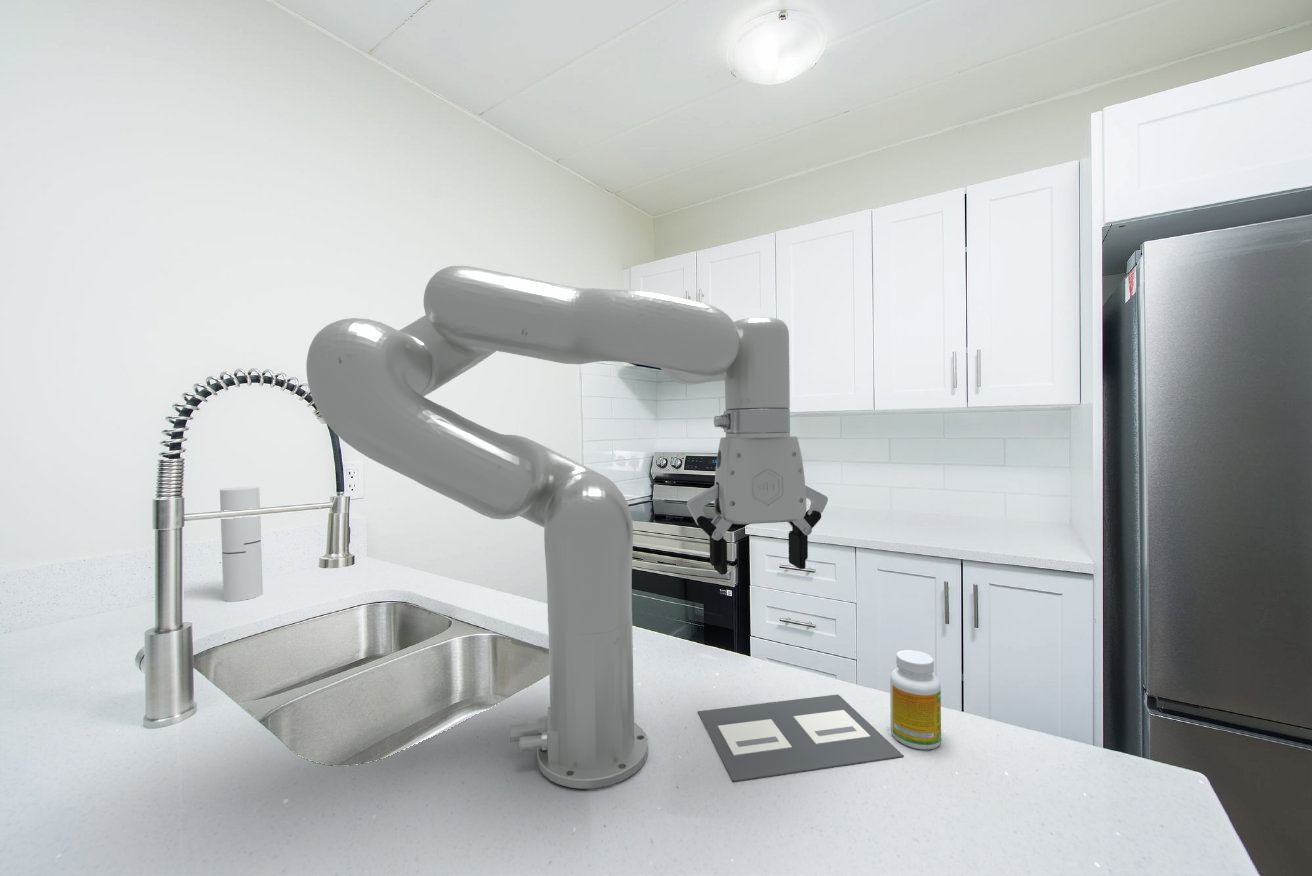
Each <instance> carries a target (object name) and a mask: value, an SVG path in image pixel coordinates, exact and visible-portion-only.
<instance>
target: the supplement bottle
mask: <svg viewBox="0 0 1312 876" xmlns="http://www.w3.org/2000/svg"><path fill="white" fill-rule="evenodd" d="M895 656H896V658H895V660H896V661H895V664H896V668H895V669H894V670H892V672H891V673H890V678H889V679H890V681H889V682H890V685H889V686H890V687H889V688H890V689H889V690H890V694H889V695H890V696H889V697H890V700H889V702H890V706H889V707H890V733H891V735H892V736H893V738H894V739H895V740H897V741H898V742H899V743H901V744H903V745H905V746H906V747H910V748H913V749H915V750H925V751H926V750H933V749H936V748H938V747H940V744H941V743H942V713H941V712H942V709H941V708H942V705H941V704H942V703H941V702H942V701H941V700H942V697H941V694H942V690H941V688H942V687H941V681H940V680H939V678H938V677H937V675H935V674H934V671H935V665H934V663H935V662H934V658H933V657H932V656H931V655H930V654H928V653H926V652H922V651H920V650H913V649H903V650H899V651H897V652H896V655H895Z"/></svg>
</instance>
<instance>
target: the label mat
mask: <svg viewBox="0 0 1312 876" xmlns="http://www.w3.org/2000/svg"><path fill="white" fill-rule="evenodd" d="M842 697H843V696H841V695H840V694H838V693H837V694H831V695H821V696H814V697H813V696H812V697H804V698H797V699H788V700H781V701H780V700H779V701H772V702H762V703H754V704H748V705H747V704H746V705H738V706H731V707H730V706H729V707H722V708H721V707H720V708H713V709H704V710H697V714H698V716H699V718H700V719H701V721H702V724H703V725H704V728H705V730H706V731H707V734H708V736H709V738H710V739H711V742H712V744H713V746H714V748H715V750H716V752H717V753H718V755H719V758H720V760H721V762H722V764H723V765H724V768H725V770H726V771H727V773H728V776H729V777H730V779H731V781H732V782H733V783H735V782H743V781H749V780H755V779H762V778H770V777H777V776H784V775H790V774H797V773H805V772H811V771H817V770H824V769H831V768H839V767H845V766H851V765H852V766H853V765H860V764H865V763H866V764H867V763H871V762H878V761H885V760H892V759H900V758H904V756H905V755H904V754H903V753H901V752H900V750H898V748H896V747H895V746H894V744H892V743H891V742H890V741H889V740H888V739H887V738H885V737H884V736H883V735H882V734H881V733H880V732H879V731H878V730H877V728H875V727H874V726H873V725H872V724H871V723H870V722H869V721H867V720H866V719H865V718H864V717H863V716H862V715H861V714H860V713H859V712H858V711H857V710H856V709H855V708H853V706H851V705H850V704H849V703H848V702H847V701H846V700H845V699H844V698H842Z"/></svg>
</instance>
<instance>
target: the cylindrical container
mask: <svg viewBox="0 0 1312 876" xmlns="http://www.w3.org/2000/svg"><path fill="white" fill-rule="evenodd" d="M260 494H261V493H260V486H239V487H238V486H237V487H227V488H221V489H219V500H220V501H219V503H220V507H219V508H220V512H221V511H224V510H241V509H249V508H260V509H261V501H260V500H261V498H260V497H261V496H260ZM220 530H221V534H220V535H221V561H222V562H221V566H222V567H221V568H222V586H223V587H222V588H223V589H222V591H223V593H222V596H223V597H222V598H223V601H224V600H225V601H224V602H228V601H233V602H240V601H241V600H242V601H247V600H246V599H248V600H251V599H255V598H254V597H256V598H258V597H260V595H261V596H262V595H263V594H264V590H263V589H264V588H263V565H262V563H263V561H262V560H263V557H262V530H261V515H260V516H257V517H242V518H233V519H221V518H220ZM242 601H241V602H242Z"/></svg>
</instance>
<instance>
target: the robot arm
mask: <svg viewBox="0 0 1312 876" xmlns="http://www.w3.org/2000/svg"><path fill="white" fill-rule="evenodd" d="M423 309H424V314H425V315H423V316H421V317H419V318H418V319H417V320H415V321H413V322H411V323H409V324H407V325H406V326H404V327H403V328H401V329H400V330H398V329H396V328H394V327H392V326H390V325H387V324H386V323H383V322H382V321H381V322H380V321H376V320H373V319H369V318H358V317H357V318H355V317H354V318H353V317H352V318H344V319H343V318H342V319H340V320H337V321H334V322H331V323H329V324H327V325H325V326H324V327H323V328H322V329H320V330H319V331H318V332H317V333H316V334H315V336H314V337H313V339H312V341H311V343H310V345H309V347H308V353H307V355H306V364H305V365H306V380H307V384H308V389H309V393H310V396H311V399H312V400H313V403H314V405H315V408H316V409H317V411H318V413H319V415H320V417H322V419H323V421H324V422H325V423H326V424H327V426H328V427H329V428H330V429H331V431H332V432H333V433H334V434H335V435H336V436H338V437H339V438H340V439H341V440H342V441H343V442H344V443H346V444H347V445H349V446H350V447H351V448H352V449H354V450H356V451H357V452H359V453H360V454H362V455H363V456H365V457H366V458H369V459H370V460H372V461H374V462H376V463H378V464H380V465H382V466H384V467H386V468H388V469H390V470H392V471H394V472H396V473H399V474H401V475H403V476H404V477H407V478H408V479H411V480H413V481H415V482H417V483H418V484H420V485H422V486H424V487H426V488H427V489H430V490H432V491H434V492H436V493H438V494H440V495H443V496H444V497H447V498H448V499H451V500H453V501H455V502H457V503H459V504H461V505H463V506H464V507H467V508H469V509H470V510H472V511H474V512H476V513H478V514H480V515H482V516H485V517H487V518H490V519H495V520H503V521H504V520H510V519H514V518H516V517H521V518H523V519H525V520H527V521H529V522H531V523H533V524H536V525H538V526H540V527H543V528H544V532H543V534H544V535H543V536H544V537H543V538H544V539H543V541H544V557H545V572H546V594H547V595H546V596H547V597H546V598H547V626H548V628H547V629H548V667H549V668H548V670H549V671H548V672H549V673H548V674H549V679H548V680H549V706H547V715H546V716H540V717H538V720H533V721H527V720H526V721H525V720H524V721H517V722H511V723H510V726H509V727H510V728H509V742H510V743H516V742H519V752H525V751H527V752H528V751H532V750H537V751H536V757H537V758H536V759H537V760H536V762H537V766H538V768H539V771H540V772H541V773H542V774H543V776H544V777H546V778H547V779H548V780H549V781H551V782H553V783H555V784H557V785H559V786H563V787H568V788H571V789H580V790H581V789H582V790H583V789H585V790H586V789H587V790H589V789H599V788H604V787H608V786H612V785H615V784H617V783H620V782H622V781H624V780H626V779H627V778H629V777H631V776H633V775H634V774H635V773H636V772H638V771H639V770H640V769H641V767H642V766H643V765H644V764H645V762H646V759H647V758H648V754H649V740H648V737H647V734H646V732H645V731H644V729H643V728H642V727H641V726H640V725H638V724H637V723H636V722H635V700H634V692H635V691H634V651H633V650H634V649H633V648H634V642H633V638H634V637H633V605H632V604H633V596H632V595H633V594H632V593H633V592H632V583H633V582H632V580H633V579H632V575H633V551H634V548H633V547H634V527H633V517H632V513H631V512H632V511H631V509H630V505H629V503H628V502H627V499H626V498H625V496H624V494H623V492H622V491H621V490H620V489H619V487H618V486H617V484H616V483H614V482H613V481H612V480H611V479H610V478H608V477H607V476H605V475H603V474H602V473H600V472H597V471H595V470H593V469H591V468H590V467H587V466H586V465H583V464H581V463H579V462H578V461H575V460H573V459H571V458H569V457H567V456H566V455H562V454H560V453H558V452H557V451H555V450H553V449H551V448H549V447H547V446H545V445H543V444H540V443H539V442H536V441H534V440H532V439H529V438H527V437H525V436H522V435H516V434H503V433H499V432H496V431H494V430H491V429H489V428H487V427H485V426H482V425H480V424H479V423H476V422H474V421H472V420H470V419H468V418H467V417H463V416H462V415H460V414H458V413H457V412H455V411H453V410H451V409H449V408H448V407H445V406H443V405H441V404H438V403H436V402H434V401H432V400H430V399H429V398H426V396H428V395H429V394H431V393H432V392H434V391H436V390H437V389H439V388H440V387H443V386H444V385H445V384H448V383H449V382H451V381H453V380H454V379H455V378H457V377H458V376H460V375H462V374H464V373H466V372H468V371H469V370H471V369H472V368H473V367H475V366H477V365H478V364H479V363H481V362H483V361H484V360H485V359H487V358H489V357H490V356H492V355H493V354H495V353H496V352H499V353H500V352H501V353H507V354H511V355H517V356H522V357H527V358H534V359H538V360H543V361H547V362H548V361H549V362H553V363H554V362H555V363H558V364H559V363H560V364H564V365H565V364H567V365H583V364H590V363H591V364H592V363H597V362H618V363H627V364H628V363H629V364H635V365H642V366H647V367H652V368H653V367H654V368H659V369H660V370H661V371H662V373H663V374H664V375H665V376H666V377H667V378H668V379H670V380H672V382H675V383H677V384H681V385H699V384H705V383H711V382H720V381H721V382H722V381H724V402H725V403H724V405H725V410H723V413H722V414H721V415H715V416H714V417H713V426H714V427H715V428H720V429H723V433H725V437H720V440H719V445H718V450H717V456H716V465H715V475H714V485H713V486H711V487H709V488H708V489H706V490H704V491H703V492H700V493H698V495H695V496H694V497H692V498H690V499H689V500H688V501H687V502H686V507H687V509H688V511H689V513H690V514H691V517H692V518H693V520H694V523H695V524H696V525H697V526H698V527H699V528H700V529H701V530H702V531H703V532H704V533H705V535H707V536H709V563H710V565H711V566H712V567H713V568H714V571H716V572H717V573H719V575H722V576H723V575H726V574H727V573H728V542H727V540H726V539H724V535H725V534H726V533H727V531H728V530H730V528H731V526H732V525H733V524H734V525H753V524H754V525H757V524H772V523H773V524H775V523H776V524H777V523H787V524H789V526H790V527H791V528H792V530H789V532H788V562H789V564H791V565H792V566H794V567H796V568H798V569H799V570H804V569H806V562H807V561H806V560H808V558H809V555H808V554H809V552H808V550H809V546H808V543H809V542H808V539H809V537H808V536H810V535H811V534H812V532H813V529H814V527H815V526H816V525H817V524H818V522H820V520H821V519H822V513H823V512H824V510H825V508H826V506H827V503H828V502H829V500H828V499H829V498H828V496H827V495H825V494H823V493H821V492H819V491H817V490H815V489H813V488H811V487H809V486H808V485H806V479H805V469H804V465H803V456H802V452H801V447H800V442H799V438H798V436H793V435H792V436H791V409H790V407H791V403H790V401H791V400H790V398H791V397H790V396H791V395H790V394H791V392H790V391H791V390H790V382H791V381H790V333H789V332H790V331H789V328H788V325H787V324H786V323H785V322H784V321H783V320H781V319H778V318H773V317H766V316H765V317H764V316H761V317H748V318H747V317H746V318H743V319H742V318H741V319H738V320H735V321H734V320H733V319H732V318H731V317H730V316H729V315H728V314H727V313H725V312H724V311H723V310H721V309H719V308H718V307H716V306H713V305H710V304H707V303H705V302H699V301H695V300H690V299H686V298H682V297H678V296H672V295H667V294H663V293H657V292H651V291H643V290H635V289H633V290H631V289H606V288H583V287H582V288H581V287H576V286H575V287H574V286H569V285H563V284H558V283H553V282H550V281H549V282H548V281H542V280H538V279H535V278H534V279H533V278H528V277H524V276H519V275H514V274H511V273H510V274H509V273H504V272H502V271H501V272H499V271H494V270H490V269H485V268H481V267H476V266H475V267H474V266H469V265H452V266H446V267H445V268H444V267H443V268H441V269H440V270H438V271H437V272H435V274H434V275H433V276H431V278H430V279H429V280H428V282H427V284H426V285H425V290H424V294H423ZM807 500H809V501H810V505H809V509H807ZM710 503H713V504H714V505H713V506H714V512H715V514H716V515H715V516H714V518H713V519H712V521H710V520H709V518H707V517H706V515H705V512H704V507H705V506H706V505H709V504H710Z"/></svg>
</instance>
